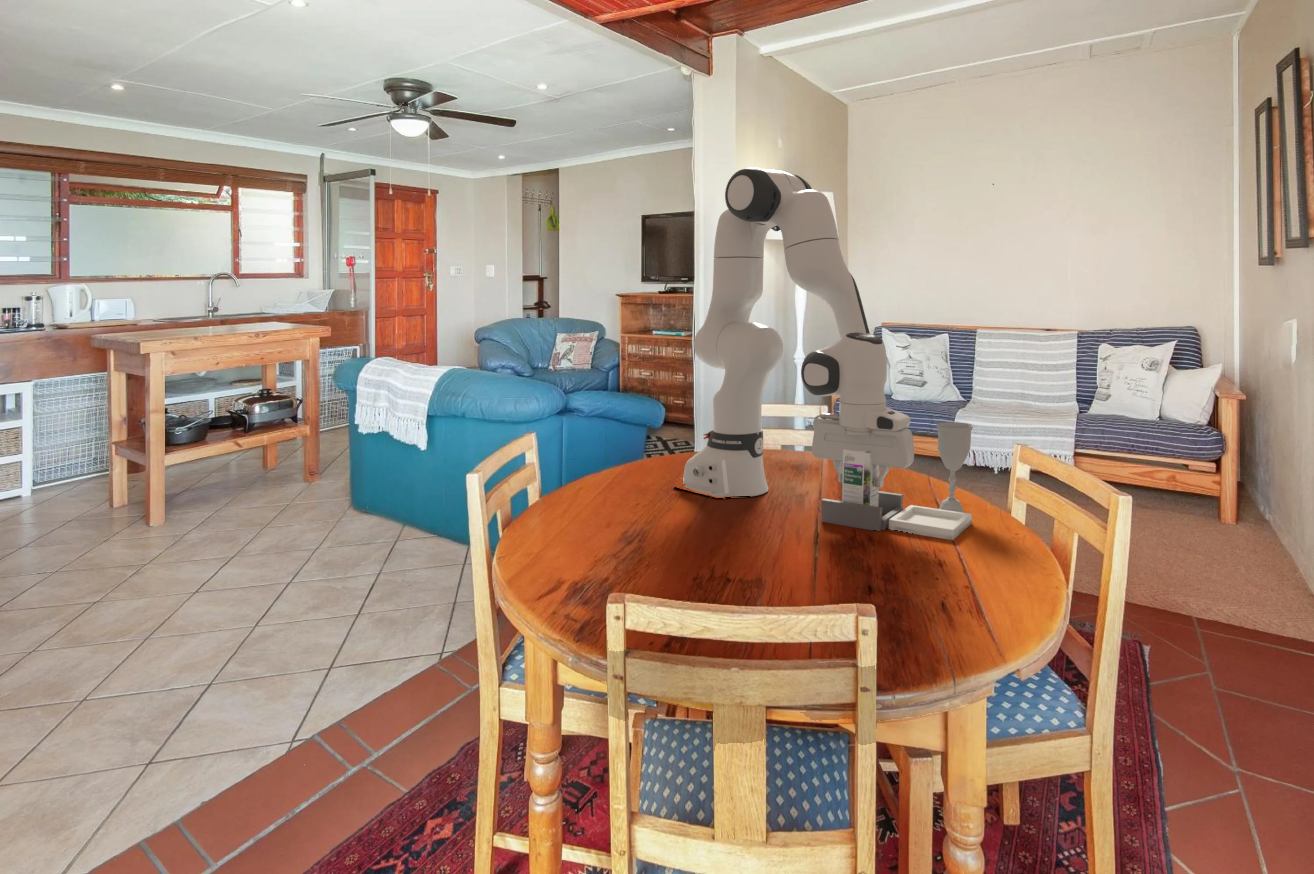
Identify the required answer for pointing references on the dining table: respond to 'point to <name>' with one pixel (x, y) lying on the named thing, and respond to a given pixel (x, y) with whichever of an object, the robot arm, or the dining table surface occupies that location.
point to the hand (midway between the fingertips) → (860, 484)
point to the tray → (931, 522)
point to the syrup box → (859, 478)
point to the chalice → (953, 456)
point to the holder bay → (862, 512)
